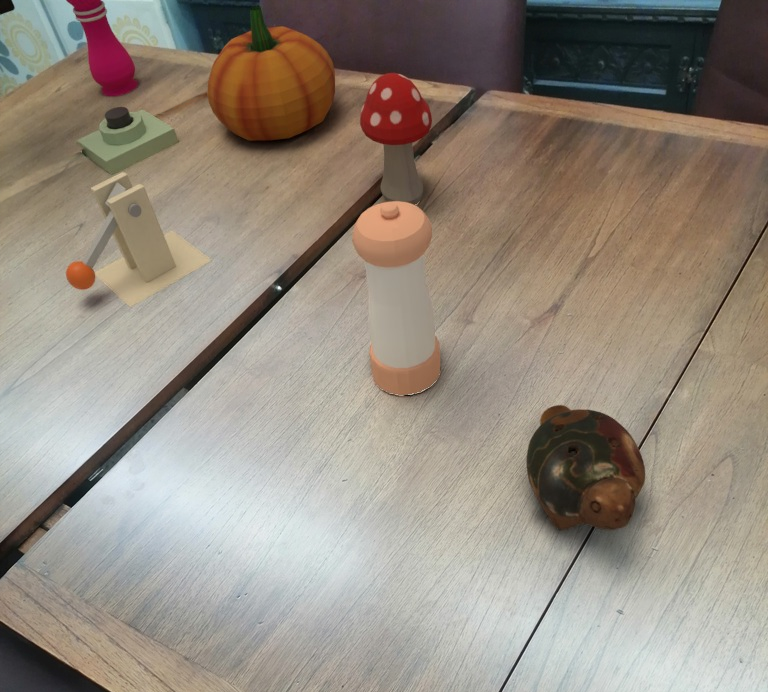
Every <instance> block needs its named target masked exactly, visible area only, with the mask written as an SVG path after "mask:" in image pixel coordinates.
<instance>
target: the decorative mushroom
mask: <svg viewBox="0 0 768 692" xmlns="http://www.w3.org/2000/svg"><path fill="white" fill-rule="evenodd" d="M432 123H433V118H432V113H431V109H430V105H429V104H428V102H427V101H426V100H425V99H424V98H423V96H422V94H421V92H420V91H419V88H418V87H417V86H416V85H415V84H414V82H413V81H412V80H411V79H410V78H408V77H407V76H406V75H403V74H401V73H398V72H397V73H396V72H388V73H384V74H383V75H382V74H381V75H380V76H378V77H377V78H376V79H375V80H374V81H373V82H372V83H371V85H370V87H369V89H368V91H367V94H366V98H365V101H364V103H363V105H362V107H361V108H360V117H359V126H360V128H361V130H362V133H363V134H364V135H365V136H366V137H367V138H368V139H370V140H371V141H373V142H375V143H378V144H381V145H383V174H382V179H381V182H380V187H379V188H380V192H381V194H382V196H383V199H384V201H385V200H386V201H385V202H392V201H400V202H408V203H410V204H413V205H415V204H417V203H418V202H419V201H420V200H422V198H423V193H424V185H423V183H422V180H421V178H420V176H419V173H418V170H417V165H416V160H415V156H414V148H413V143H415V142H417V141H420V140H422V139H423V138H425V137H426V136H427V135H428V134H429V133H430V130H431V128H432ZM420 202H421V201H420Z"/></svg>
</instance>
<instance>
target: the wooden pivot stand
mask: <svg viewBox="0 0 768 692" xmlns="http://www.w3.org/2000/svg"><path fill="white" fill-rule="evenodd" d="M116 183H119V184H120V185H122V186H123V187H125V188H126V189H127V190H126V191H124V192H122V193H120V194H119V195H117V196H115V197H113V198H111V199H109V200H107V199H108V197H109V195H110V194H111V192H112V190H113V188H114V187H115V185H116ZM90 190H91V192H92V194H93V197H94V198H95V201H96V203H97V205H98V207H99V209H100V211H101V212H102V215H103V218H104V221H105V220H106V218H107V216H108V214H109V213H110V211H112V213H113V216H114V218H115V220H116V222H117V224H118V226H117V227H116V229H115V231H114V232H113V234H112V237H113V238H114V240H115V243H116V244H117V247H118V249H119V251H120V254H121V255H122V257H119V259H116V260H115V261H112V262H111V263H109V264H107V265H105V266H104V267H102V268H100V269H98V270H96V271H94V272H95V278H97V279H98V280H99V281H101V283H102V284H103V285H105V286H106V287H107V288H108V289H109V290H111V292H112V293H114V294H115V295H116V296H117V297H118V298H119V299H120V300H121V301H122V302H124V303H125V304H126V305H127V306H128V307H129V308H132V307H134V306H136V305H137V304H140V303H141V302H142V301H144V300H146V299H148V298H150V297H151V296H153V295H155V294H157V293H159V292H160V291H162V290H164V289H166V288H167V287H169V286H171V285H172V284H174V283H176V282H178V281H179V280H181V279H183V278H184V277H187V276H188V275H190V274H191V273H194V272H195V271H197V270H198V269H201V268H202V267H204V266H206V265H207V264H209V263H211V262H213V260H212V258H210V257H208V256H207V255H206V254H204V253H203V252H202V251H200V250H199V249H198V248H196V247H195V246H194V245H193V244H192V243H190V242H189V241H187V240H186V239H185V238H183V237H182V236H181V235H179V234H178V233H177V232H175V231H174V230H170V231H168V232H166V233H165V234H164V231H163V229H162V227H161V225H160V223H159V219H158V217H157V214H156V212H155V210H154V207H153V204H152V203H151V200H150V198H149V195H148V193H147V190H146V188H145V186H144V185H143V184H141V183H138V184H136V185H134V186H133V185H132V182H131V179H130V177H129V174H128V173H126V172H125V171H122V172H120V173H117V174H116V175H114V176H112V177H110V178H108V179H106V180H103V181H102V182H100V183H98V184H96V185H93V186H92V187H90ZM106 200H107V203H108V205H109V206H107V205H106V204H105V202H106Z"/></svg>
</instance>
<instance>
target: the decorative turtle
mask: <svg viewBox="0 0 768 692" xmlns="http://www.w3.org/2000/svg"><path fill="white" fill-rule="evenodd" d="M539 424H540V425H539V426H538V427H537V429H536V430H535V431H534V433H533V435H532V437H531V438H530V440H529V443H528V446H527V452H526V472H527V478H528V482H529V484H530V487H531V489H532V492H533V493H534V495H535V497H536V500H537V501H538V502H539V504H540V505H541V507H542V509H543V512H544V513H545V514H546V515H547V517H548V519H549V520H550V522H551V524H552V526H553V527H554V528H555V529H557V528H558V529H557V530H560V529H561V530H560V531H565V530H569V529H572V528H574V527H576V526H579V525H588V526H591V527H593V528H596V529H599V530H605V531H615V530H618V529H623V528H624V527H627V525H629V524H630V522H631V520H632V518H633V516H634V513H635V508H636V499H637V498H638V496H639V494H640V493H641V491H642V489H643V487H644V485H645V483H646V482H645V481H646V466H645V462H644V459H643V456H642V453H641V451H640V448H639V447H638V444H637V442H636V441H635V440H634V438H633V436H632V434H631V433H630V432H629V431H628V430H627V429H626V428H625V427H624V426H623V425H622V424H621V423H620V422H619V421H617V419H615V418H614V417H612V416H610V415H608V414H606V413H604V412H601V411H597V410H593V409H579V408H577V409H570V408H569V407H567V406H566V405H563V404H556V405H553V406H551V407H548V408H547V409H545V410H544V411H543V412H542V414H541V415H540V420H539ZM572 452H574V453H575V454H572V455H571V453H572Z"/></svg>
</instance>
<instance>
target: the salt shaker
mask: <svg viewBox="0 0 768 692" xmlns="http://www.w3.org/2000/svg"><path fill="white" fill-rule="evenodd" d="M352 230H353V231H352V238H351V242H352V245H353V247H354V249H355V251H356V253H357V254H358V256H359V257H360V258H361V259H362V260H363V262H364V267H365V274H366V282H367V289H368V307H367V308H368V309H367V310H368V311H367V328H368V329H367V330H368V335H369V339H370V345H369V354H368V355H369V361H370V367H371V373H372V378H373V381H374V384H375V383H376V384H377V385H378V386H379V387H380V388H381V389H383V390H384V391H387V392H388V393H393V394H398V395H408V394H412V393H414V394H415V393H417V392H421V391H422V390H424V389H426V388H428V387H430V386H431V385H432V384H433V383H434V382H435V381H436V380H437V379H438V377H439V378H440V376H439V374H440V375H441V371H440V366H441V365H442V364H441V352H440V351H441V349H440V346H441V345H440V342H439V340H438V337H437V335H436V321H435V320H436V314H435V311H434V307H433V302H432V299H431V294H430V291H429V287H428V281H427V269H426V255H425V253H426V251H427V250H428V248H429V246H430V244H431V241H432V238H433V227H432V224H431V221H430V219H429V218H428V216H427V214H426V213H425V212H424V211H423V210H422V209H421V207H419V206H418V205H417V206H416V205H413V204H410V203H408V202H400V201H392V202H386V201H385V202H381V203H377V204H375V205H373V206H370V207H368V208H367V209H366V210H365V211H363V212H362V213H361V214H360V216H358V219H357V220H356V222H355V223H354V226H353V229H352ZM441 367H442V366H441ZM438 380H439V379H438ZM376 384H375V385H376ZM377 385H376V386H377ZM378 386H377V387H378ZM379 387H378V388H379ZM380 388H379V389H380ZM381 389H380V390H381ZM384 391H383V392H384ZM388 393H387V394H388Z"/></svg>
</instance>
